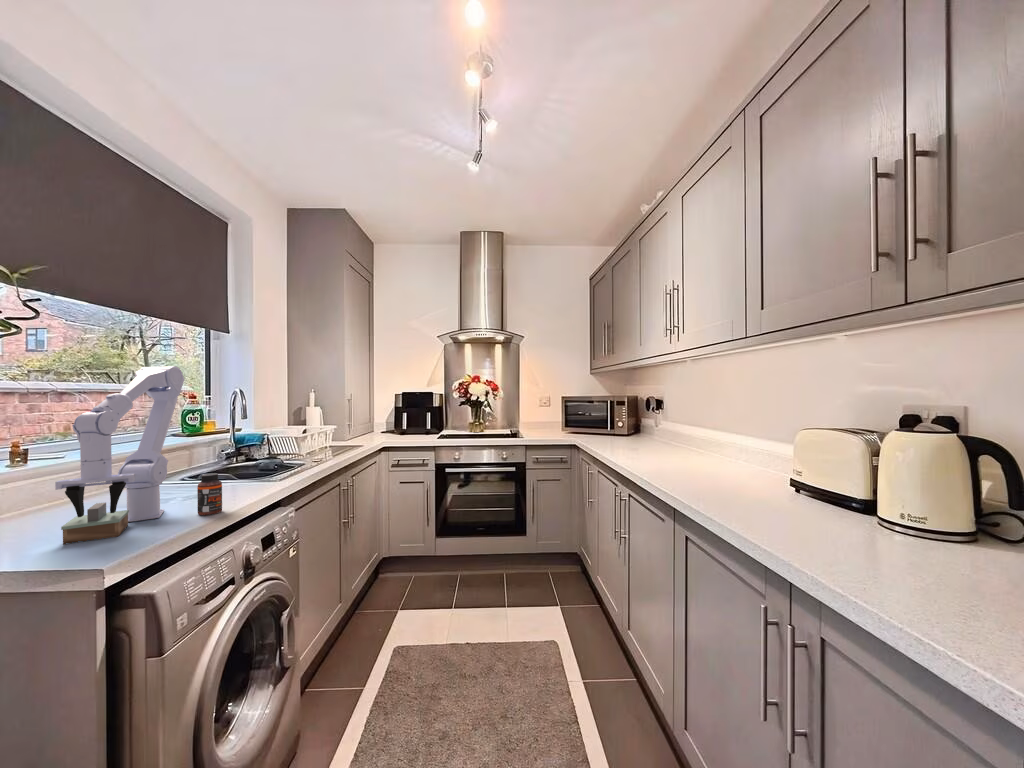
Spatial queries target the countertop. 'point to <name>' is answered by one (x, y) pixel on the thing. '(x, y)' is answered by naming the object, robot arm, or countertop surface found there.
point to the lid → (95, 517)
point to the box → (95, 531)
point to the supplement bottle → (209, 495)
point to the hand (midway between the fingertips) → (97, 514)
